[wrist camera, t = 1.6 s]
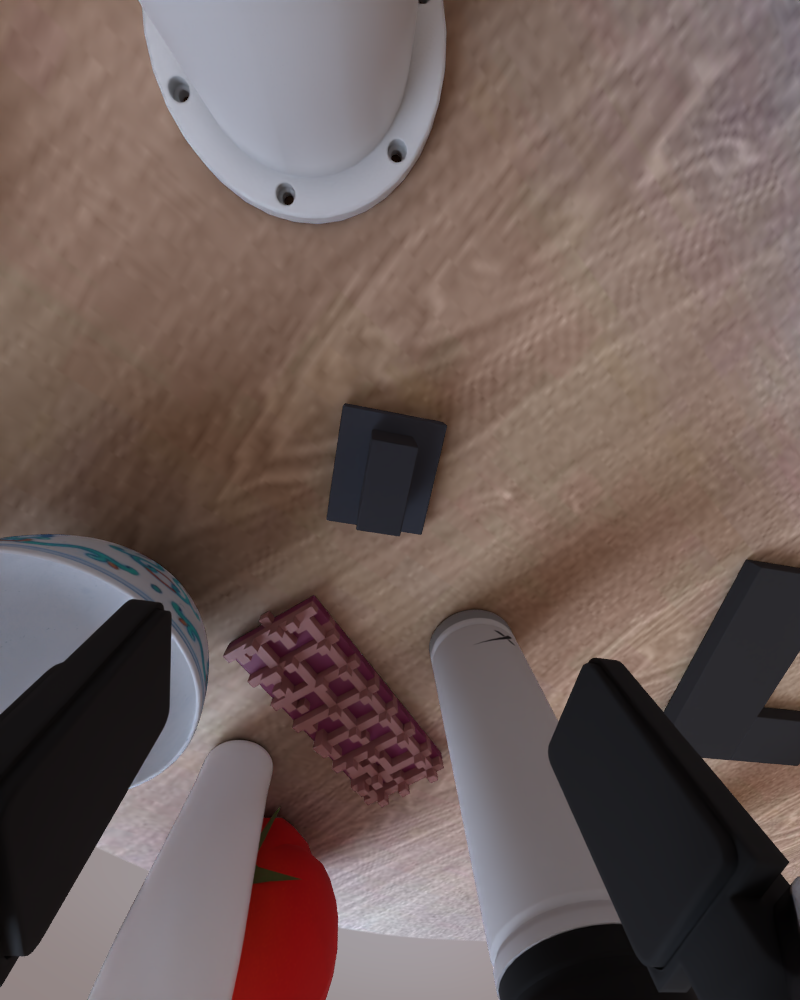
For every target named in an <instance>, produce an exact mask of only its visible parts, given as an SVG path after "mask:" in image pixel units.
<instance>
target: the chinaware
mask: <svg viewBox="0 0 800 1000" xmlns="http://www.w3.org/2000/svg"><path fill="white" fill-rule="evenodd" d="M130 599H138V600H146V601H154V602H161V603H162V604H163V606H164V610H166V611H170V612H171V615H172V628H171V672H170V710H169V715H168V719H167V722H166V724H165V726H164V728H163V730H162V732H161V734H160V736H159V737H158V739H157V741H156V742H155V744H154V746H153V748H152V749H151V751H150V753H149V755H148V756H147V758H146V760H145V761H144V763H143V765H142V767H141V768H140V770H139V772H138V774H137V775H136V777H135V779H134V781H133V782H132V784H131V786H130V787H129V789H130V788H133V787H136V786H138V785H140V784H142V783H144V782H146V781H148V780H150V779H152V778H154V777H155V776H157V775H158V774H160V773H161V772H163V771H164V770H165V769H167V768H168V767H169V766H170V765H171V764H173V763H174V762H175V761H176V760H177V759H178V757H179V756H180V755H181V754H182V753H183V752H184V750H185V749H186V747H187V746H188V744H189V743H190V741H191V739H192V737H193V735H194V733H195V731H196V729H197V726H198V723H199V720H200V717H201V713H202V709H203V705H204V700H205V696H206V690H207V683H208V673H209V651H208V642H207V636H206V631H205V628H204V624H203V621H202V618H201V616H200V613H199V611H198V609H197V607H196V605H195V603H194V601H193V600H192V598H191V596H190V595H189V593H188V592H187V591H186V589H185V588H184V587H183V586H182V584H181V583H180V582H179V581H178V580H177V579H176V578H175V577H174V576H173V575H172V574H171V573H169V572H168V571H167V570H166V569H165V568H163V567H162V566H161V565H159V564H158V563H156V562H155V561H153V560H152V559H150V558H148V557H146V556H145V555H143V554H141V553H139V552H137V551H134V550H132V549H130V548H127V547H124V546H122V545H119V544H116V543H112V542H109V541H105V540H100V539H96V538H90V537H83V536H75V535H60V534H41V535H24V536H14V537H6V538H0V714H1V713H2V712H3V711H4V710H6V709H7V708H8V707H9V706H10V705H11V704H12V703H13V702H14V701H15V700H16V699H17V698H18V697H19V696H20V695H22V694H23V693H24V692H25V691H26V690H27V689H28V688H29V687H30V686H31V685H32V684H33V683H34V682H35V681H37V680H38V679H39V678H40V677H41V676H42V675H43V674H44V673H45V672H46V671H48V670H49V669H50V668H52V667H53V666H54V665H57V664H59V663H62V662H64V661H65V660H66V659H67V658H68V657H69V656H70V655H71V654H72V653H73V652H74V651H75V650H76V649H77V648H78V647H80V646H81V645H82V644H83V643H84V642H85V641H86V640H87V639H88V638H89V637H90V636H91V635H92V634H93V633H94V632H95V631H96V630H97V629H98V628H99V627H100V626H101V625H103V624H104V623H105V622H106V621H107V620H108V619H109V618H110V617H111V616H112V615H113V614H114V613H115V612H116V611H117V610H118V609H119V608H120V607H121V606H122V605H123V604H124V603H126V602H127V601H128V600H130Z"/></svg>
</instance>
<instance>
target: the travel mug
mask: <svg viewBox="0 0 800 1000" xmlns="http://www.w3.org/2000/svg"><path fill="white" fill-rule="evenodd" d="M429 652H430V657H431V662H432V667H433V672H434V677H435V682H436V687H437V692H438V697H439V703H440V708H441V713H442V718H443V723H444V728H445V733H446V738H447V743H448V748H449V753H450V758H451V763H452V768H453V773H454V778H455V783H456V788H457V793H458V799H459V804H460V809H461V814H462V819H463V824H464V829H465V834H466V839H467V844H468V849H469V854H470V859H471V864H472V869H473V874H474V879H475V884H476V890H477V895H478V900H479V905H480V910H481V915H482V920H483V925H484V930H485V935H486V940H487V945H488V950H489V955H490V960H491V963H492V965H493V967H494V968H493V975H494V980H495V985H496V991H497V995H498V998H499V1000H698V998H697V996H696V994H695V992H694V990H693V988H692V986H691V988H690V989H689V990H688V991H687V992H658V990H657V988H656V986H655V984H654V981H653V979H652V977H651V975H650V973H649V970H648V968H647V966H645V965H644V964H642V963H641V962H640V960H639V959H638V957H637V956H636V954H635V952H634V950H633V948H632V946H631V944H630V941H629V939H628V937H627V935H626V933H625V930H624V928H623V926H622V924H621V921H620V919H619V917H618V915H617V912H616V910H615V908H614V906H613V903H612V901H611V899H610V897H609V894H608V892H607V890H606V888H605V885H604V883H603V881H602V879H601V876H600V874H599V872H598V870H597V868H596V865H595V863H594V861H593V859H592V856H591V854H590V852H589V850H588V847H587V845H586V843H585V841H584V838H583V836H582V834H581V832H580V829H579V827H578V825H577V823H576V820H575V818H574V816H573V814H572V812H571V809H570V807H569V805H568V803H567V800H566V798H565V796H564V794H563V791H562V789H561V787H560V785H559V782H558V780H557V778H556V776H555V773H554V771H553V769H552V767H551V764H550V762H549V758H548V746H549V743H550V741H551V738H552V736H553V734H554V731H555V729H556V727H557V724H558V720H557V718H556V716H555V714H554V712H553V710H552V708H551V706H550V704H549V702H548V701H547V699H546V697H545V695H544V693H543V691H542V689H541V687H540V685H539V683H538V681H537V679H536V677H535V675H534V674H533V672H532V670H531V668H530V666H529V664H528V662H527V660H526V658H525V656H524V654H523V652H522V650H521V648H520V647H519V645H518V643H517V641H516V639H515V637H514V635H513V633H512V631H511V629H510V627H509V626H508V624H507V623H506V622H505V621H504V620H503V619H502V618H501V617H499V616H498V615H496V614H494V613H491V612H488V611H484V610H466V611H462V612H459V613H456V614H454V615H452V616H450V617H448V618H447V619H445V620H444V621H443V622H442V623H441V624H440V625H439V626H438V627H437V628H436V630H435V631H434V633H433V635H432V637H431V640H430V645H429Z"/></svg>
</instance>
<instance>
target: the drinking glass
mask: <svg viewBox="0 0 800 1000" xmlns="http://www.w3.org/2000/svg"><path fill="white" fill-rule="evenodd" d="M272 772H273V763H272V759H271V756H270V755H269V753H268V752H267V751H266V750H265V749H264V748H263V747H262V746H260V745H258V744H256V743H254V742H251V741H246V740H232V741H227V742H224V743H222V744H220V745H218V746H216V747H215V748H213V749H212V750H211V751H210V752H209V754H208V755H207V756H206V758H205V760H204V762H203V764H202V767H201V769H200V772H199V774H198V776H197V779H196V781H195V783H194V785H193V787H192V789H191V791H190V793H189V795H188V797H187V799H186V801H185V803H184V805H183V807H182V809H181V811H180V813H179V815H178V817H177V819H176V820H175V822H174V824H173V826H172V828H171V830H170V832H169V834H168V836H167V838H166V840H165V842H164V844H163V846H162V848H161V850H160V852H159V854H158V856H157V858H156V859H155V861H154V863H153V865H152V867H151V869H150V871H149V873H148V875H147V877H146V879H145V881H144V883H143V885H142V887H141V889H140V890H139V892H138V895H137V896H136V898H135V900H134V902H133V904H132V906H131V908H130V910H129V912H128V914H127V916H126V918H125V920H124V922H123V924H122V926H121V928H120V930H119V932H118V934H117V936H116V938H115V940H114V942H113V944H112V946H111V948H110V950H109V953H108V955H107V957H106V959H105V961H104V963H103V965H102V967H101V970H100V972H99V974H98V976H97V978H96V981H95V983H94V985H93V988H92V990H91V992H90V994H89V997H88V999H87V1000H232V996H233V992H234V987H235V983H236V978H237V973H238V968H239V963H240V958H241V952H242V947H243V941H244V935H245V929H246V923H247V917H248V911H249V904H250V898H251V892H252V885H253V879H254V873H255V866H256V860H257V854H258V848H259V842H260V835H261V829H262V823H263V817H264V811H265V805H266V799H267V794H268V789H269V785H270V781H271V777H272Z"/></svg>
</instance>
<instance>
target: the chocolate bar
mask: <svg viewBox="0 0 800 1000" xmlns="http://www.w3.org/2000/svg"><path fill="white" fill-rule="evenodd" d="M259 622H260V623H261V624H262V625H261V626H259V627H257V628H256V629H254V630H252V631H250V632H249V633H247V634H245V635H243V636H242V637H240V638H238V639H236V640H235V641H233V642H231V643H229V645H228V647H227V649H226V651H225V653H224V655H223V657H224V658H225V659H226V660H227V661H228V662H229V663H230V662H232V661H234V660H236V661H237V662H238V663H239V664H240V665H241V666H242V667H243V668H244V669H245V670H246V671H247V672H248V673H249V674H250V676H249V679H248V683H249V684H250V685H251V686H252V687H253V688H254V687H256V686H258V685H259V684H260V685H261V687H262V688H263V689H264V690H265V691H266V692H267V693H268V694H269V695H270V696H271V697H272V698H273V699H272V702H271V706H272V707H273V709H274V710H275V711H277V710H279V709H281V708H283V709H284V710H285V711H286V712H287V713H288V714H289V716H290V717H291V718H292V719H293V720H294V722H293V727H292V728H293V729H294V730H295V731H296V732H297V733H299V732H301V731H302V730H304V731H305V732H306V733H307V734H308V735H309V736H310V737H311V738H312V739H313V740H314V744H313V749H314V750H315V751H316V753H317V754H318V753H319V754H320V755H321V756H322V757H323V758H326V757H328V756H329V757H330V758H331V759H332V760H333V766H332V769H333V770H334V771H335V772H336V773H339V772H341V771H344V772H345V774H346V775H347V776H348V777H349V778H350V779H351V788H352V789H353V790H354V791H355V792H356V791H357V793H358V794H359V795H360V796H361V797H363V796H364V802H365V803H366V804H367V805H370V804H372V803H374V802H376V801H377V802H378V804H379V805H380V806H381V807H383V806H385V805H387V804H389V798H388V795H390V794H392V793H394V792H396V791H398V792H399V794H400V795H401V796H402V797H404V796H406V795H408V794H410V791H409V785H411V784H413V783H415V782H417V781H419V780H421V779H423V778H425V777H427V779H428V780H429V782H430V783H433V782H435V781H437V780H438V776H437V771H439V770H441V769H443V768H444V766H443V761H442V755H441V752H440V751H439V750H438V748H437V747H436V746H435V745H434V743H433V742H432V741H431V740H430V739H429V737H428V736H427V735H426V734H425V732H424V731H423V730H422V729H421V727H420V726H419V725H418V724H417V722H416V721H415V720H414V719H413V717H412V716H411V715H410V714H409V712H408V711H407V710H406V709H405V707H404V706H403V705H402V704H401V703H400V701H399V700H398V699H397V698H396V696H395V695H394V694H393V693H392V691H391V690H390V689H389V688H388V686H387V685H386V684H385V683H384V681H383V680H382V679H381V678H380V676H379V675H378V674H377V673H376V671H375V670H374V669H373V668H372V666H371V665H370V664H369V663H368V662H367V660H366V659H365V658H364V657H363V655H362V654H361V653H360V652H359V650H358V649H357V648H356V647H355V645H354V644H353V643H352V642H351V640H350V639H349V638H348V637H347V635H346V634H345V633H344V632H343V630H342V629H341V628H340V627H339V626H338V624H337V623H336V622H335V621H334V619H333V618H332V617H331V616H330V614H329V613H328V612H327V611H326V609H325V608H324V607H323V606H322V604H321V603H320V602H319V601H318V599H317V598H316V597H315V596H314V595H313V596H312V597H310V598H308V599H306V600H305V601H303V602H301V603H299V604H298V605H296V606H294V607H292V608H291V609H289V610H287V611H285V612H284V613H282V614H280V615H278V616H277V617H274V616H273V615H272V614H271V612H270V611H268V612H266V613H265V614H263V615H261V617H260V620H259Z"/></svg>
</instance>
